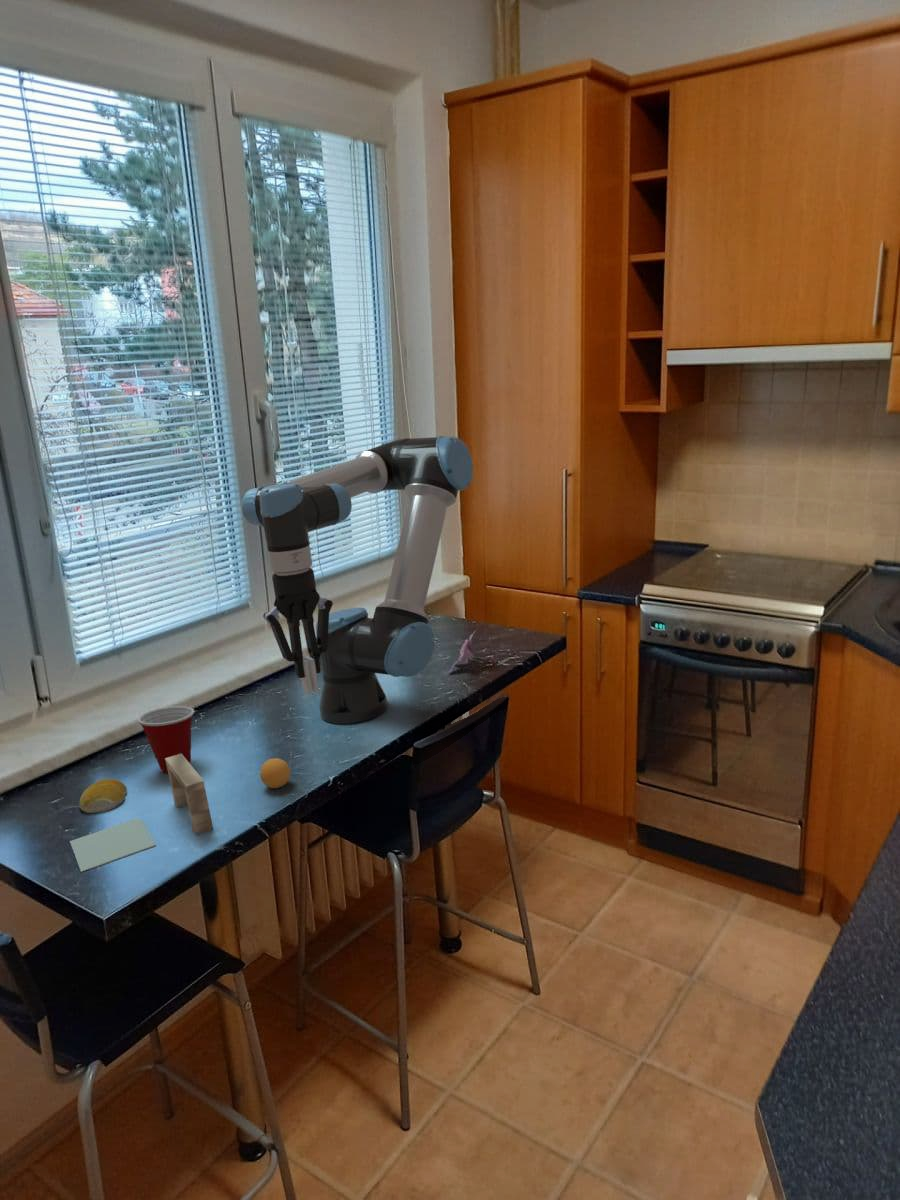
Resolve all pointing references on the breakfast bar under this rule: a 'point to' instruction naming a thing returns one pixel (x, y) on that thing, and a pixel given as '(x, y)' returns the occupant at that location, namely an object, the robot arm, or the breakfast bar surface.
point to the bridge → (189, 792)
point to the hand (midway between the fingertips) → (311, 691)
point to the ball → (275, 773)
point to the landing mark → (111, 844)
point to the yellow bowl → (103, 796)
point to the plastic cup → (168, 732)
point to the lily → (466, 651)
